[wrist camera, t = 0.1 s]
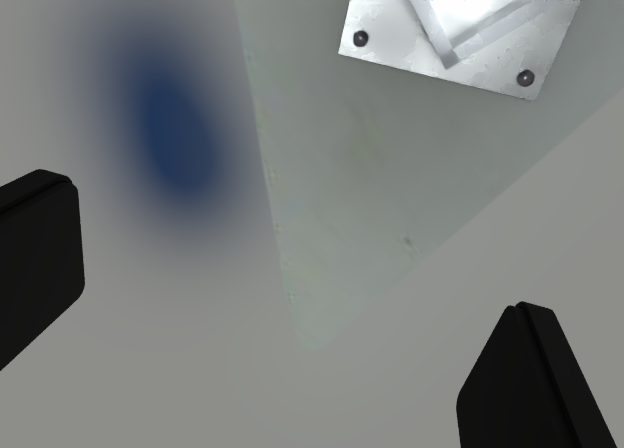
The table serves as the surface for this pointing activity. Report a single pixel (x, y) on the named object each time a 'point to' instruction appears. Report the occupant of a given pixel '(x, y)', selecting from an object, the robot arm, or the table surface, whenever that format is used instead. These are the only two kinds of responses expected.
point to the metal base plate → (462, 39)
